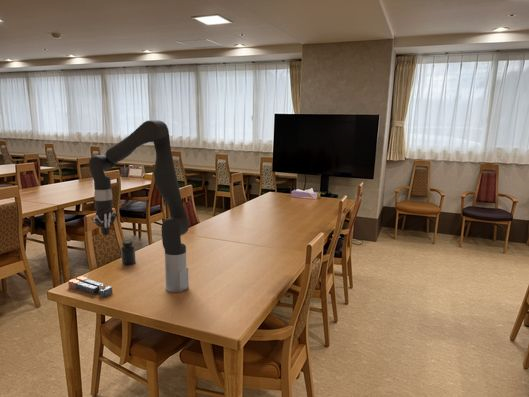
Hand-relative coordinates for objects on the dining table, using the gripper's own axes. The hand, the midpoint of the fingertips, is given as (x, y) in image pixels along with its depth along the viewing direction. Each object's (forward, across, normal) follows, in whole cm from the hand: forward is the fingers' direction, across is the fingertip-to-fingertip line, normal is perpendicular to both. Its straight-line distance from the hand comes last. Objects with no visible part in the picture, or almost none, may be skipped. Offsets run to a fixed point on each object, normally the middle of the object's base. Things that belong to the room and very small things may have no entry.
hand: (106, 234), depth 174 cm
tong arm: (+21, -12, -2) cm, 24 cm away
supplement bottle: (+21, +18, +6) cm, 29 cm away
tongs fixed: (+21, -14, -4) cm, 26 cm away
